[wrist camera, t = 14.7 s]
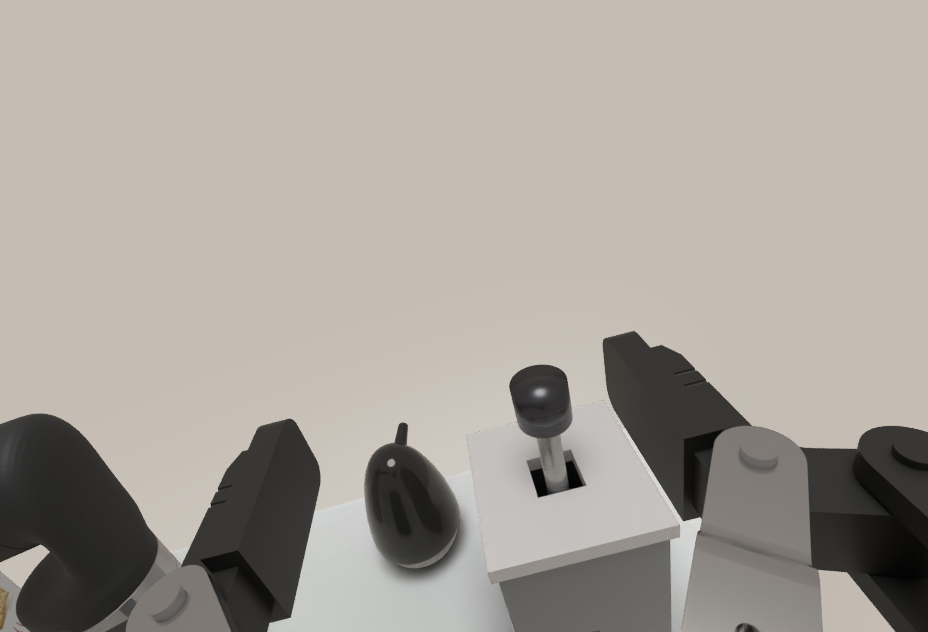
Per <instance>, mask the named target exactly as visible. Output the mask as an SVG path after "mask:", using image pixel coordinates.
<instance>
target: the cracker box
mask: <svg viewBox="0 0 928 632" xmlns="http://www.w3.org/2000/svg"><path fill="white" fill-rule="evenodd" d="M20 591H21V588H20V587H19V586H17V585H16V584H15V583H13V582H12V581H11V580H10V579H9V578H8V577H7V576H5V575H4V574H3V573H2V572H1V571H0V632H30V631H29V630H28V629H26V628H25V627H24V626H23V625H22V624H21V623H20V621H19V620H18V618H17V615H16V602H17V599H18V596H19V593H20Z"/></svg>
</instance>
